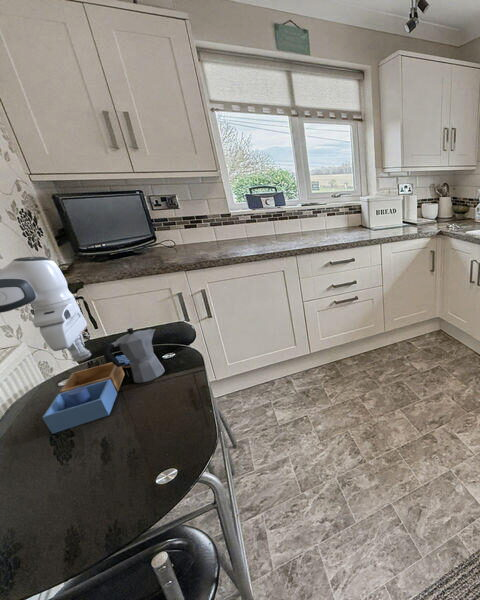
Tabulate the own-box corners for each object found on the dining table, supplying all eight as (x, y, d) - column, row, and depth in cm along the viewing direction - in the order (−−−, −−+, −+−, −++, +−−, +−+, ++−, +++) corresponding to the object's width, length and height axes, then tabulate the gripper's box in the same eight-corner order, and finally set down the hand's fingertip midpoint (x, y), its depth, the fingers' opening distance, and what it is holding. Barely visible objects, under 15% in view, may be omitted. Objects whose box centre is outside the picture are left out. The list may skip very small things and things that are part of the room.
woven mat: (149, 352, 128) (147, 348, 128) (141, 365, 119) (139, 360, 118) (117, 360, 125) (114, 355, 124) (106, 373, 115) (104, 369, 115)
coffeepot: (162, 362, 120) (143, 318, 113) (177, 367, 115) (159, 321, 109) (113, 387, 107) (89, 338, 100) (127, 393, 103) (104, 343, 96)
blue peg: (76, 417, 93) (65, 396, 90) (80, 409, 96) (69, 389, 94) (94, 411, 95) (83, 391, 92) (97, 403, 98) (87, 384, 95)
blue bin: (52, 434, 88) (42, 417, 86) (66, 409, 98) (58, 393, 96) (109, 415, 93) (101, 399, 91) (117, 393, 103) (110, 378, 101)
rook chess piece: (90, 358, 102) (79, 335, 99) (71, 363, 99) (59, 340, 96) (93, 353, 105) (82, 330, 102) (75, 358, 103) (63, 335, 100)
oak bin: (68, 406, 99) (59, 391, 97) (79, 387, 109) (72, 373, 107) (118, 391, 104) (111, 376, 102) (124, 374, 114) (118, 360, 112)
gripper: (56, 303, 103) (75, 341, 108) (29, 324, 87) (53, 368, 92) (82, 298, 106) (99, 335, 111) (60, 318, 89) (83, 361, 94)
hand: (78, 350), depth 101 cm, fingers closed on rook chess piece, 3 cm apart
